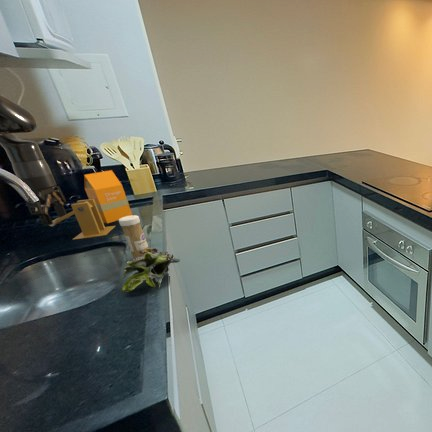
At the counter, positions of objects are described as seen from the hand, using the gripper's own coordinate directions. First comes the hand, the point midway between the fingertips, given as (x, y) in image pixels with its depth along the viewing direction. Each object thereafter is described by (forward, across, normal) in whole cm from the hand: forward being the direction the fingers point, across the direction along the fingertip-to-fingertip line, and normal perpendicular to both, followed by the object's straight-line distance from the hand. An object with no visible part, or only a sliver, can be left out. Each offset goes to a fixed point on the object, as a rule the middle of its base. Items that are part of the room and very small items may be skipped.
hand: (55, 220), depth 101 cm
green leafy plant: (+7, +46, +38) cm, 60 cm away
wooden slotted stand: (+7, 0, +9) cm, 12 cm away
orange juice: (+8, -15, +10) cm, 19 cm away
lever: (-1, 0, +5) cm, 5 cm away
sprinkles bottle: (+7, +28, +30) cm, 42 cm away
